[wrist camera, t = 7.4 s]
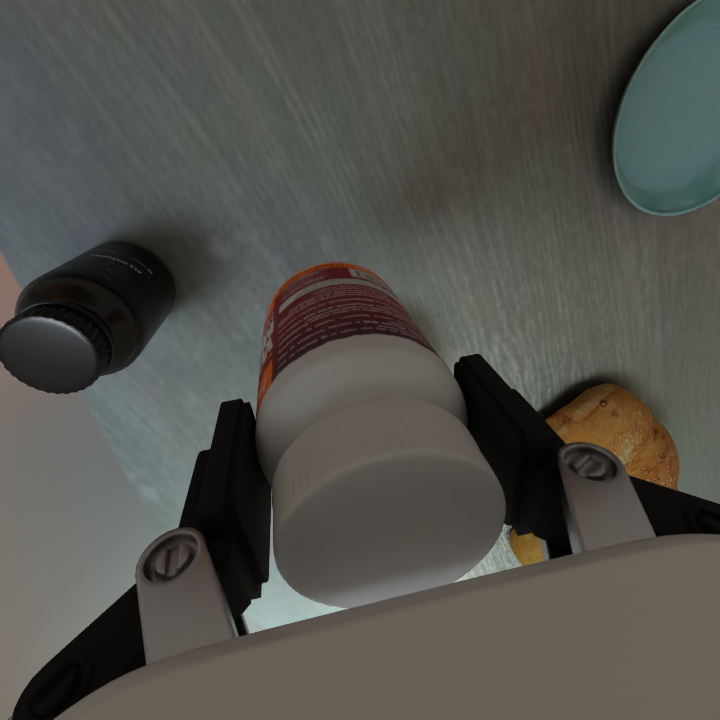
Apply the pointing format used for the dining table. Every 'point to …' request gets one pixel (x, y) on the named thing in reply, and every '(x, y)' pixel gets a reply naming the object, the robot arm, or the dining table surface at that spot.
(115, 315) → the supplement bottle
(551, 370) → the dining table surface
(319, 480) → the pill bottle
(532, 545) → the bread
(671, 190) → the saucer
